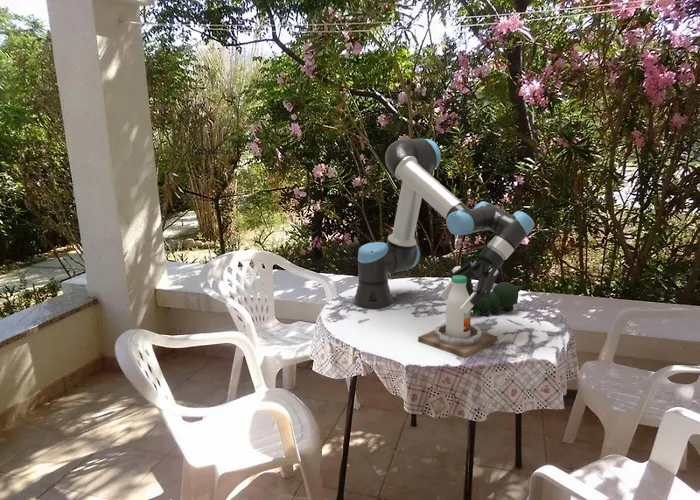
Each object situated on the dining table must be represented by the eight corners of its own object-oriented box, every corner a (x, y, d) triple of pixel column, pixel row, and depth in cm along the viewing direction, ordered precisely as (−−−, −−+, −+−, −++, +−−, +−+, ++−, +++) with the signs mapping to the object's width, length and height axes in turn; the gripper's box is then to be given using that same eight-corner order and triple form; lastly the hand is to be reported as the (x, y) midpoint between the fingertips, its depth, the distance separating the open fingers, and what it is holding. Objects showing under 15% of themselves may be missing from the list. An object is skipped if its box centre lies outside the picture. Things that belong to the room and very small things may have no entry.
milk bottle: (455, 343, 163) (457, 281, 159) (440, 334, 170) (441, 275, 165) (475, 338, 166) (477, 277, 162) (459, 330, 173) (461, 272, 169)
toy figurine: (470, 324, 187) (531, 311, 193) (467, 274, 182) (530, 261, 188) (458, 316, 196) (516, 303, 202) (455, 267, 191) (515, 256, 197)
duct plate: (418, 341, 169) (418, 336, 169) (451, 326, 181) (451, 322, 180) (464, 357, 156) (464, 352, 156) (497, 340, 168) (497, 336, 168)
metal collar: (426, 336, 168) (426, 330, 168) (453, 325, 178) (453, 319, 178) (463, 349, 158) (463, 343, 158) (489, 336, 168) (490, 330, 167)
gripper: (526, 270, 156) (480, 324, 155) (481, 252, 179) (441, 299, 178) (512, 254, 153) (465, 309, 152) (468, 238, 176) (427, 286, 175)
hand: (452, 304), depth 165 cm, fingers open, 13 cm apart
